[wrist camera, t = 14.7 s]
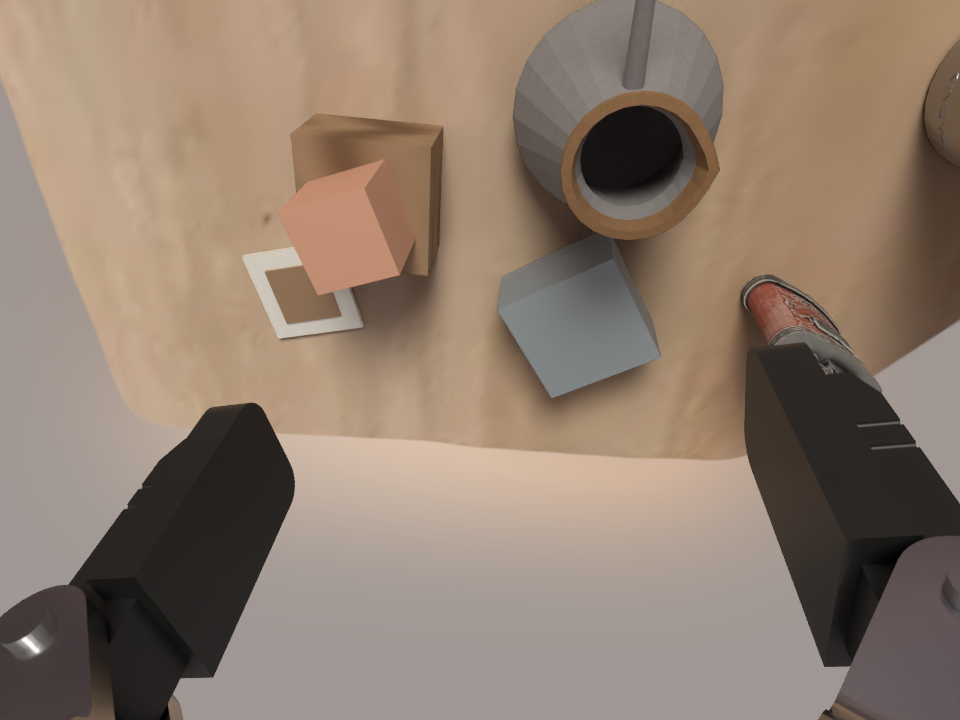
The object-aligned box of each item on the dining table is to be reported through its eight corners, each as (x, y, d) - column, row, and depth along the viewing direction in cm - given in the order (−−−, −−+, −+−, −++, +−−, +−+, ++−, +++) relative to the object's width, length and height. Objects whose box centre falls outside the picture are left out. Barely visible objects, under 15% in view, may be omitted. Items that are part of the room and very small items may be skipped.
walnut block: (443, 125, 39) (431, 148, 35) (439, 243, 44) (427, 275, 40) (317, 112, 40) (290, 133, 36) (326, 231, 44) (303, 262, 40)
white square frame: (334, 240, 44) (331, 243, 44) (364, 324, 48) (362, 328, 48) (244, 254, 46) (240, 258, 45) (280, 335, 49) (277, 340, 49)
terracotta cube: (385, 158, 36) (364, 188, 32) (415, 238, 38) (399, 275, 34) (307, 181, 37) (277, 213, 33) (341, 257, 40) (318, 295, 36)
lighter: (848, 325, 44) (916, 416, 36) (809, 357, 46) (864, 450, 38) (767, 263, 42) (818, 344, 34) (728, 298, 44) (769, 384, 36)
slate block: (607, 225, 42) (613, 258, 38) (651, 318, 46) (661, 357, 42) (502, 274, 45) (497, 309, 41) (551, 358, 49) (551, 398, 44)
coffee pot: (696, 196, 40) (759, 315, 28) (515, 196, 41) (500, 311, 29) (771, -268, 28) (940, -417, 16) (513, -250, 29) (487, -376, 17)
